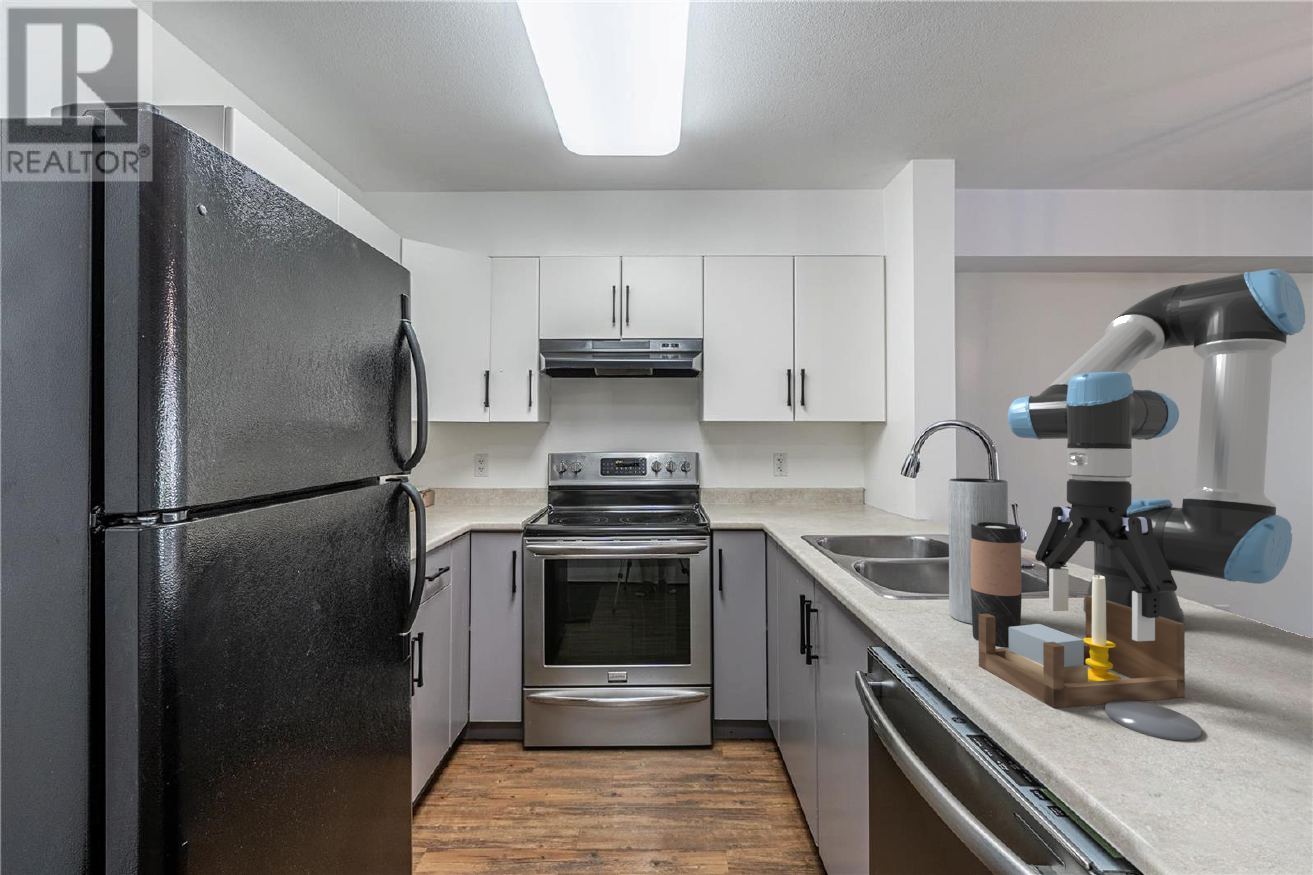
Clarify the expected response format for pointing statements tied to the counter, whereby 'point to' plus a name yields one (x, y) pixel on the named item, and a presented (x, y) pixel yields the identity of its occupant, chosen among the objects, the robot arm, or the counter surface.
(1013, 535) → the travel mug
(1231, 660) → the counter surface
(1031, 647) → the offcut upper
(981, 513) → the vase
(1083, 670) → the offcut lower
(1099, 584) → the candle
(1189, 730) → the disc
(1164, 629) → the frame
